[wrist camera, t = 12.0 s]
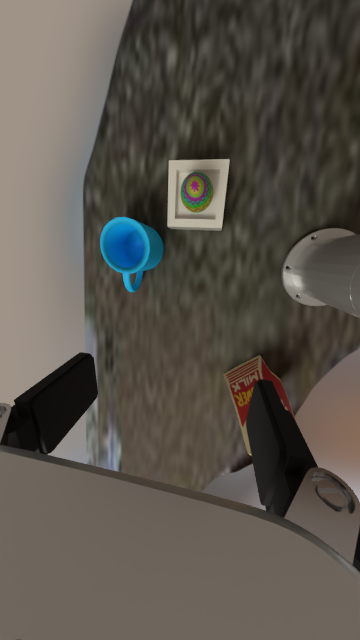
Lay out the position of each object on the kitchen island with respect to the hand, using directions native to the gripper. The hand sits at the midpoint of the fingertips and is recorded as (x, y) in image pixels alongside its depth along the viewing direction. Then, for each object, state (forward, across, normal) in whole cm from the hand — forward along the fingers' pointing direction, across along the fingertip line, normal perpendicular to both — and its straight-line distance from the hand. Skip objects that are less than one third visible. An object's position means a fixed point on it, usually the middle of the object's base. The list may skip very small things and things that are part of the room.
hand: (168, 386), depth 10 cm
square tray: (+28, +2, -16) cm, 33 cm away
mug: (+29, +12, -6) cm, 32 cm away
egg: (+26, +2, -16) cm, 31 cm away
